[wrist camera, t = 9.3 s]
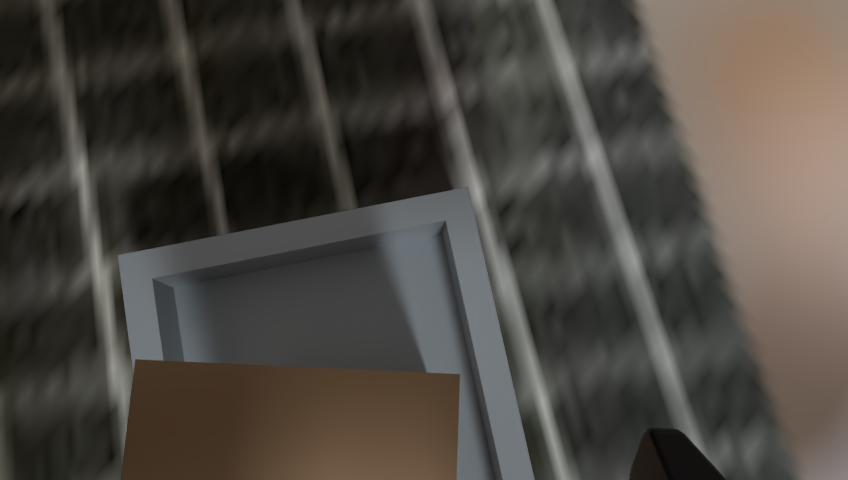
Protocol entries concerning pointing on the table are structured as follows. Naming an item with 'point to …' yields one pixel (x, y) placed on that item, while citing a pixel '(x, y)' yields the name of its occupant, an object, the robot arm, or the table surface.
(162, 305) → the tray
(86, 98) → the table surface
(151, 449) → the block
